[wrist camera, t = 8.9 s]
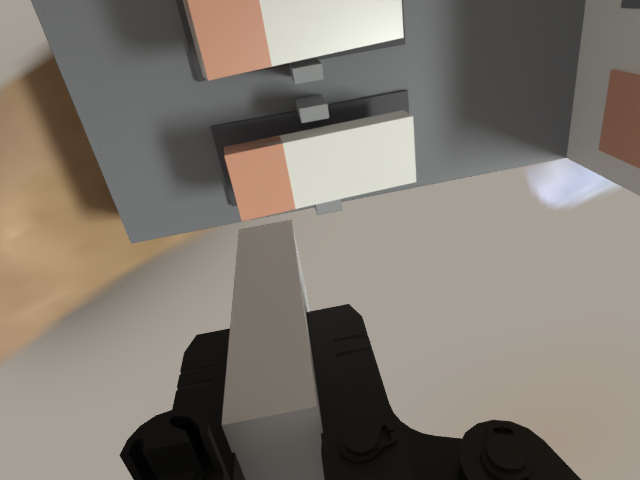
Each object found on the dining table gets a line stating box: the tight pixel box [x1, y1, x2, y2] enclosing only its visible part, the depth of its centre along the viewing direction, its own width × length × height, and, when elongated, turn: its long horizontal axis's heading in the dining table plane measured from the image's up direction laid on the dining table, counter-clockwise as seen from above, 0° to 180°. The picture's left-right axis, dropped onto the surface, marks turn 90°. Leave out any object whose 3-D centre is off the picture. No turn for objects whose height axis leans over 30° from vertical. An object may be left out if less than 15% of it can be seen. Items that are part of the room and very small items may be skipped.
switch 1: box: [183, 0, 404, 81], centre depth 17 cm, size 8×3×1 cm, turn 99°
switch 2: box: [224, 110, 416, 221], centre depth 20 cm, size 8×3×1 cm, turn 99°
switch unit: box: [31, 0, 640, 243], centre depth 17 cm, size 24×18×10 cm
